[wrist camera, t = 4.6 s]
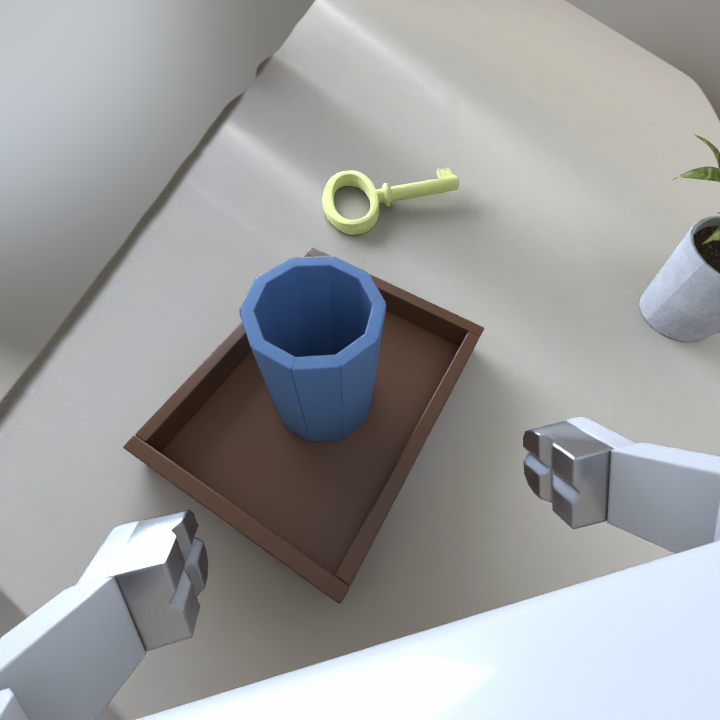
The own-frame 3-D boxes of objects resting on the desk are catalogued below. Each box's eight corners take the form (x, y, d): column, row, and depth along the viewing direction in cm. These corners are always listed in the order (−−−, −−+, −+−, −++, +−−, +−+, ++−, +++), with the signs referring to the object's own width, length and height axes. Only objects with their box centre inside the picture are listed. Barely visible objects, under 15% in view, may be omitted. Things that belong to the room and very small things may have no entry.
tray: (340, 601, 19) (340, 604, 16) (144, 459, 22) (122, 447, 20) (473, 347, 26) (484, 327, 24) (314, 270, 30) (312, 246, 27)
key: (460, 199, 34) (467, 178, 33) (343, 242, 31) (342, 221, 29) (418, 158, 38) (421, 136, 36) (307, 193, 34) (304, 172, 33)
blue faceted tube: (340, 461, 22) (337, 397, 14) (255, 408, 23) (209, 323, 15) (389, 382, 24) (410, 291, 16) (310, 339, 26) (295, 237, 18)
